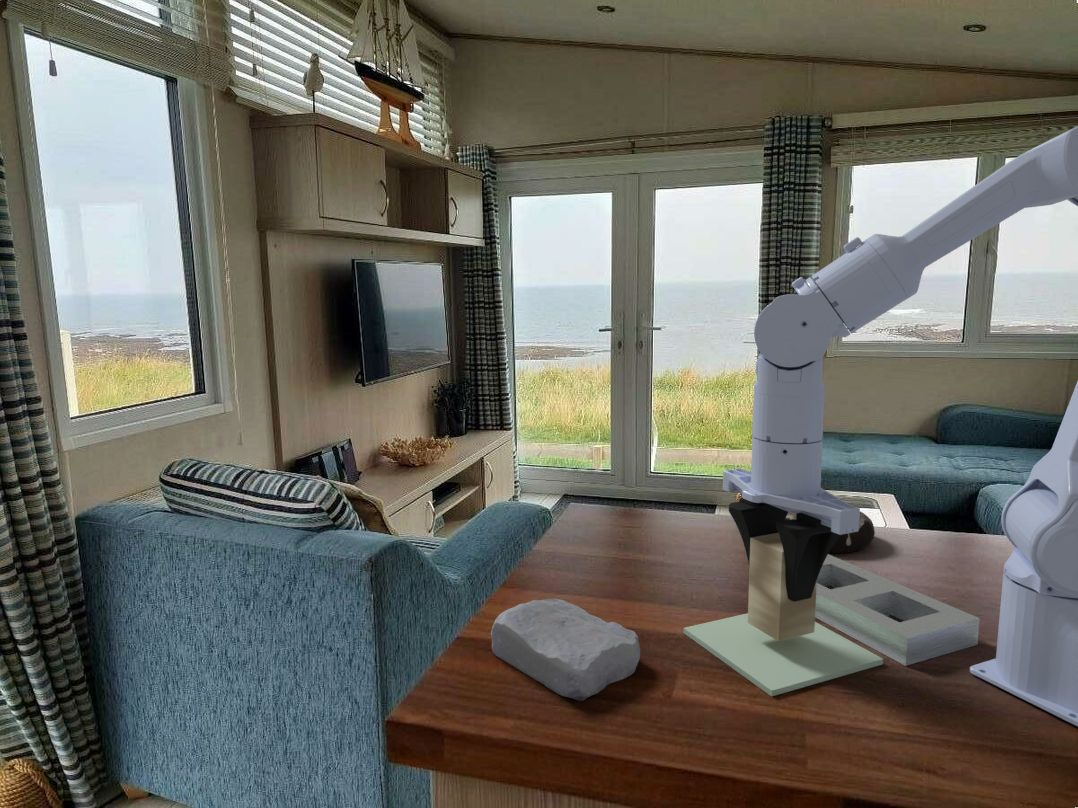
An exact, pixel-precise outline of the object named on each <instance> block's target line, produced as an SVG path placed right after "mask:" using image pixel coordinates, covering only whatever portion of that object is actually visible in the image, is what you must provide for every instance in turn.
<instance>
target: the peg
mask: <svg viewBox="0 0 1078 808" xmlns="http://www.w3.org/2000/svg"><path fill="white" fill-rule="evenodd" d="M748 566H749V565H748ZM748 570H749V571H748V576H749V577H748V600H747V601H748V602H747V613H748V623H749V624H751V625H752V626H754V627H756V628H757V629H759V630H761V631H762V632H764V633H765V634H767V635H769V636H770V637H772V638H774V639H775V640H777V641H782V640H786V639H790V638H794V637H798V636H802V635H806V634H810V633H813V632H814V628H815V622H816V618H815V607H816V586H817V581H816V584H815V587H814V590H813V593H812V596H811V598H809V599H804V600H800V601H795V602H794V601H791V600H789V599H788V596H787V590H786V566H785V557H784V551H783V546H782V542H781V539H780V536H779V533H774V534H768V535H763V536H758V537H752V538H750V566H749V567H748Z"/></svg>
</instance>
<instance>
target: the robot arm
mask: <svg viewBox="0 0 1078 808" xmlns="http://www.w3.org/2000/svg"><path fill="white" fill-rule="evenodd" d="M1064 201H1069V202H1070V203H1071V204H1073V205H1075V206H1077V207H1078V125H1077V126H1075V127H1073V128H1071V129H1068V130H1067V131H1065V132H1063V133H1060V134H1059V135H1057V136H1055V137H1053V138H1050V139H1048V140H1047V141H1045V142H1043V143H1040V144H1038V145H1037V146H1035V147H1033V148H1031V149H1029V150H1027V151H1026V152H1023V153H1022V154H1020V155H1018V156H1016V157H1015V158H1013V159H1012V160H1010V161H1009V162H1007V163H1005V164H1004V165H1002V166H1001V167H1000V168H998V169H996V170H995V171H994V172H992V173H991V174H990V175H988V176H987V177H985V178H984V179H982V180H981V181H979V182H978V183H977V184H975V185H973V186H972V187H971V188H970V189H969V188H968V190H967V191H965V192H964V193H962V194H960V195H959V196H958V197H957V198H955V199H954V200H952V201H951V202H949V203H948V204H946V205H945V206H943V207H942V208H940V209H939V210H937V211H936V212H934V213H933V214H931V216H929V217H928V218H926V219H924V220H923V221H922V222H920V223H919V224H918V225H916V226H914V227H913V228H912V229H910V230H909V231H907V232H906V233H905V234H903V235H901V236H893V235H888V234H881V233H875V234H872V235H871V236H869V237H868V238H866V239H865V240H863V241H862V239H861V238H860V237H859V236H858V237H857V236H856V237H855V238H853V239H852V240H851V241H849V242H847V243H846V244H844V246H843V250H844V251H845V253H843V255H841V256H840V257H838V258H837V259H835V260H833V261H831V262H830V263H828V265H826V266H825V267H823V268H822V269H820V270H818V271H817V272H816V273H814V274H813V275H811V277H810V276H809V277H808V278H806V279H804V277H802V276H800V277H799V278H797V279H795V280H794V281H792V282H791V286H792V287H793V289H794V290H795V292H796V293H789V294H783V295H779V296H777V297H775V298H773V300H772V302H770V303H769V304H768V305H766V306H765V307H764V308H763V309H762V311H761V312H760V313H759V315H758V316H757V319H756V321H755V326H754V330H753V331H754V332H753V333H754V335H753V336H754V341H755V345H756V347H757V350H758V351H759V352H760V354H759V355H758V356H757V361H756V363H755V376H756V377H757V379H756V381H755V383H754V385H753V404H752V405H753V406H752V407H753V408H752V412H753V413H752V428H751V430H752V432H751V433H752V434H751V437H752V439H751V468H750V470H747V469H743V468H732V469H727V470H726V469H725V470H724V469H723V473H722V474H723V475H722V477H723V478H722V491H725V492H727V493H734V492H736V493H738V494H741V498H740V499H739V501H735V502H731V503H729V504H728V512H729V514H730V515H731V517H732V519H733V521H734V523H735V525H736V527H737V530H738V532H739V535H740V536H741V539H742V543H743V547H744V550H745V552H746V556H747V557H746V558H747V562H748V566H750V538H752V537H758V536H763V535H768V534H774V533H779V536H780V539H781V542H782V546H783V551H784V557H785V566H786V590H787V596H788V599H789V600H791V601H794V602H795V601H800V600H804V599H809V598H811V596H812V593H813V590H814V587H815V584H816V581H817V578H818V575H819V573H820V570H821V568H822V565H823V563H824V561H825V559H826V557H827V555H828V554H830V553H829V552H830V550H831V548H832V547H833V545H834V544H835V542H836V541H837V540H838V538H839V537H840V536H841V535H842V534H847V533H853V532H858V531H859V516H860V511H861V508H860V507H857V506H855V505H853V504H850V503H847V502H845V501H844V500H842V499H840V498H839V497H838V496H836V495H834V494H833V493H831V492H829V491H827V490H826V489H825V488H822V487H821V481H822V463H823V461H822V460H823V439H824V438H823V437H824V436H823V435H824V416H825V415H824V414H825V398H826V397H825V395H826V386H825V384H824V383H823V363H824V357H823V356H824V355H825V354H826V352H827V350H828V348H829V346H830V344H831V340H832V338H835V337H842V338H846V337H848V336H850V335H851V334H853V333H855V332H856V331H858V330H859V329H861V328H862V327H865V326H866V325H868V324H869V323H871V322H872V321H874V320H876V319H877V318H879V317H880V316H882V315H885V313H887V312H889V311H890V310H892V309H893V308H896V307H897V306H898V305H900V304H901V303H903V302H904V301H906V300H908V299H910V298H911V297H913V296H915V295H916V294H917V293H918V290H919V289H920V288H919V287H920V285H921V284H920V282H921V279H922V275H923V272H924V270H925V269H926V268H927V267H928V266H930V265H931V264H933V263H935V262H937V261H938V260H941V258H943V257H945V256H947V255H949V254H951V253H952V252H953V251H955V250H957V249H959V248H960V247H962V246H963V245H965V244H966V243H969V242H971V241H972V240H974V239H975V238H977V237H978V236H980V235H982V234H984V233H985V232H988V231H989V230H990V229H991V228H993V227H995V226H997V225H999V224H1000V223H1002V222H1004V221H1005V220H1007V219H1008V218H1010V217H1012V216H1014V215H1015V214H1017V213H1018V212H1021V211H1022V210H1024V209H1027V208H1028V209H1029V208H1035V207H1036V208H1037V207H1045V206H1046V207H1047V206H1052V205H1054V204H1058V203H1061V202H1064ZM1064 413H1065V414H1064V416H1063V418H1062V421H1061V424H1060V425H1059V428H1058V431H1057V434H1056V437H1055V439H1054V442H1053V444H1052V447H1051V449H1050V450H1049V451H1048V452H1047V453H1046V454H1045V455H1044V456H1043V457H1042V458H1041V459H1039V460H1038V461H1037V462H1036V463H1035V464H1034V465H1033V467H1032V469H1031V471H1030V475H1029V477H1027V478H1028V479H1027V480H1026V482H1025V483H1024V484H1023V485H1022V486H1021V488H1019V489H1018V490H1017V491H1016V492H1014V493H1013V494H1012V495H1011V496H1010V497H1009V498H1008V499H1007V501H1006V502H1005V504H1004V506H1003V509H1002V511H1001V518H1000V519H1001V528H1002V531H1003V533H1004V535H1005V537H1006V538H1007V540H1008V541H1009V542H1010V543H1011V544H1012V545H1013V546H1014V547H1013V551H1012V552H1011V554H1010V556H1009V558H1008V559H1007V560H1006V562H1005V563H1004V565H1003V572H1002V573H1003V575H1002V585H1001V586H1002V587H1001V596H1000V597H1001V598H1000V608H999V620H998V629H997V642H996V654H995V658H993V659H990V660H986V661H983V662H980V663H977V664H973V665H971V666H970V667H969V672H970V674H972V675H974V676H975V677H978V678H980V679H982V680H984V681H986V682H988V683H990V684H992V685H994V686H996V687H997V688H1000V689H1002V690H1003V691H1005V692H1008V693H1010V694H1012V695H1014V696H1015V697H1017V698H1019V699H1022V700H1024V701H1026V702H1028V703H1030V704H1032V705H1033V706H1035V707H1038V708H1040V709H1042V710H1044V711H1045V712H1048V713H1050V714H1052V715H1053V716H1056V717H1057V718H1060V719H1062V720H1064V721H1065V722H1067V723H1070V724H1071V725H1073V726H1076V727H1078V381H1076V385H1075V387H1074V390H1073V393H1072V395H1071V398H1070V400H1069V403H1068V405H1067V408H1066V410H1065V412H1064ZM788 512H791V513H793V514H796V520H795V519H791V520H786V521H785V519H786V516H787V514H788Z"/></svg>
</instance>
